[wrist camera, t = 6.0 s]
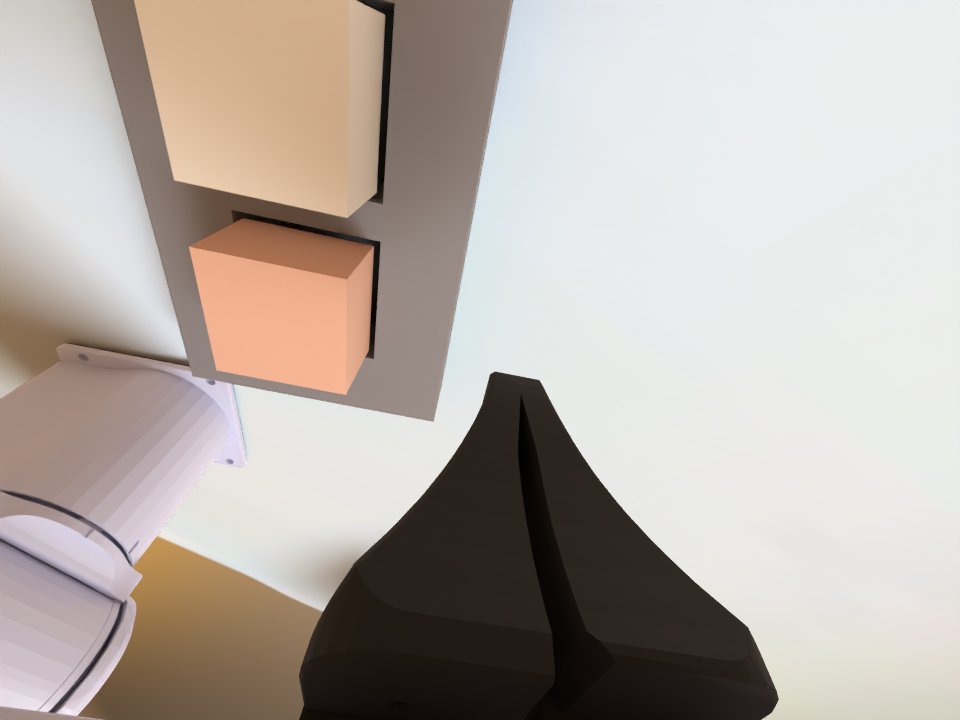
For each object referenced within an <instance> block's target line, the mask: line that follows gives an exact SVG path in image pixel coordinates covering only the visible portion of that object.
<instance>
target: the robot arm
mask: <svg viewBox="0 0 960 720" xmlns="http://www.w3.org/2000/svg"><path fill="white" fill-rule="evenodd" d="M56 353H57V355H58V357H59V359H60V361H59V362H58V363H56V364H55V365H53V366H51V367H50V368H48V369H47V370H45V371H43V372H42V373H40V374H39V375H37V376H35V377H34V378H32V379H31V380H29V381H28V382H26V383H24V384H23V385H21V386H20V387H18V388H16V389H15V390H13V391H12V392H10V393H8V394H7V395H5V396H4V397H2V398H1V399H0V720H103V719H94V718H87V717H79V716H77V715H78V714H79V713H80V712H81V711H82V710H83V709H84V707H85V706H86V705H87V704H88V703H89V702H90V700H91V699H92V698H93V697H94V696H95V694H96V693H97V692H98V690H99V689H100V688H101V687H102V685H103V684H104V683H105V681H106V680H107V679H108V677H109V676H110V674H111V673H112V671H113V670H114V668H115V666H116V665H117V663H118V662H119V660H120V658H121V656H122V655H123V653H124V651H125V649H126V647H127V644H128V642H129V640H130V637H131V634H132V629H133V624H134V620H135V615H136V603H135V601H134V600H133V599H132V597H130V596H129V595H130V593H131V592H132V591H133V589H134V588H135V586H136V585H137V584H138V582H139V581H140V580H141V578H142V575H141V574H140V573H138V572H137V571H136V570H134V569H133V566H134V565H135V564H136V562H137V561H138V560H139V559H140V557H141V556H142V555H143V553H144V552H145V551H146V550H147V548H148V547H149V546H150V544H151V543H152V542H153V540H154V539H155V538H156V537H157V535H158V534H159V533H160V531H161V530H162V529H163V527H164V526H165V525H166V524H167V522H168V521H169V520H170V518H171V517H172V516H173V514H174V513H175V512H176V511H177V509H178V508H179V507H180V505H181V504H182V503H183V502H184V500H185V499H186V498H187V496H188V495H189V494H190V492H191V491H192V490H193V489H194V487H195V486H196V485H197V483H198V482H199V481H200V479H201V478H202V477H203V476H204V474H205V473H206V472H207V470H208V469H209V468H210V466H211V465H212V464H213V463H218V464H223V465H229V466H235V467H244V466H245V464H246V463H247V455H246V450H245V445H244V440H243V435H242V430H241V425H240V420H239V415H238V410H237V405H236V400H235V395H234V390H233V385H232V384H231V383H225V382H220V381H215V380H209V379H204V378H199V377H193V376H192V373H191V369H190V367H189V366H183V365H178V364H173V363H168V362H162V361H157V360H152V359H146V358H141V357H136V356H131V355H125V354H120V353H115V352H109V351H104V350H99V349H94V348H88V347H83V346H78V345H72V344H67V343H63V344H61V345H59V346H58V347H56ZM299 679H300V683H301V690H302V695H303V701H304V707H303V710H302V713H301V716H300V719H299V720H761V719H763V718H764V717H766V716H767V715H769V714H770V713H772V711H773V709H774V708H775V706H776V704H777V702H778V700H779V699H778V695H777V691H776V689H775V686H774V684H773V682H772V679H771V677H770V675H769V672H768V670H767V668H766V665H765V663H764V661H763V658H762V656H761V654H760V652H759V649H758V647H757V645H756V643H755V641H754V638H753V637H752V635H751V633H750V631H749V628H748V627H747V626H746V625H745V624H743V623H742V622H741V621H740V620H739V619H737V618H736V617H735V616H734V615H733V614H732V613H730V612H729V611H728V610H727V609H726V608H725V607H723V606H722V605H721V604H720V603H719V602H717V601H716V600H715V599H714V598H713V597H712V596H710V595H709V594H708V593H707V592H706V591H705V590H703V589H702V588H701V587H700V586H699V585H698V584H696V583H695V582H694V581H693V580H692V579H691V578H690V577H689V576H688V575H687V574H686V573H685V572H684V571H682V570H681V569H680V568H679V567H678V566H677V565H676V564H675V563H674V562H673V561H672V560H671V559H670V558H669V557H668V556H667V555H666V554H665V553H664V552H663V551H662V550H661V549H660V548H659V547H658V546H657V545H656V544H655V543H654V542H653V541H652V540H651V539H650V538H649V537H648V536H647V535H646V534H645V533H644V532H643V531H642V530H641V529H640V527H639V526H638V525H637V524H636V523H635V522H634V521H633V520H632V519H631V518H630V517H629V516H628V514H627V513H626V512H625V511H624V510H623V509H622V507H621V506H620V505H619V504H618V503H617V502H616V500H615V499H614V498H613V497H612V495H611V494H610V493H609V492H608V490H607V489H606V488H605V487H604V485H603V484H602V483H601V482H600V480H599V479H598V478H597V476H596V475H595V474H594V472H593V471H592V469H591V468H590V466H589V465H588V463H587V462H586V460H585V459H584V458H583V456H582V455H581V453H580V451H579V450H578V448H577V447H576V445H575V444H574V442H573V440H572V439H571V437H570V435H569V434H568V432H567V430H566V428H565V427H564V425H563V423H562V422H561V420H560V418H559V416H558V414H557V413H556V411H555V409H554V407H553V405H552V403H551V401H550V399H549V397H548V395H547V393H546V391H545V390H544V388H543V386H542V384H541V382H540V381H539V380H536V379H531V378H525V377H520V376H515V375H510V374H505V373H499V372H494V373H492V374H490V377H489V381H488V384H487V388H486V392H485V396H484V400H483V403H482V406H481V408H480V411H479V413H478V415H477V417H476V419H475V421H474V423H473V425H472V426H471V428H470V430H469V431H468V433H467V435H466V436H465V438H464V440H463V442H462V443H461V445H460V446H459V448H458V449H457V451H456V452H455V454H454V455H453V457H452V458H451V460H450V461H449V462H448V464H447V465H446V466H445V468H444V469H443V471H442V472H441V473H440V474H439V476H438V477H437V478H436V479H435V481H434V482H433V483H432V484H431V486H430V487H429V488H428V489H427V490H426V492H425V493H424V494H423V495H422V496H421V498H420V499H419V500H418V501H417V502H416V503H415V504H414V505H413V506H412V507H411V508H410V509H409V510H408V512H407V513H406V514H405V515H404V516H403V517H402V518H401V519H400V520H399V521H398V522H397V523H396V524H395V525H394V526H393V527H392V528H391V529H390V530H389V531H388V532H387V533H386V534H385V535H384V536H383V537H382V538H381V539H380V540H379V541H378V542H377V543H376V544H374V545H373V546H372V547H371V548H370V549H369V550H368V551H367V552H366V553H365V554H364V555H363V556H362V557H360V558H359V559H358V560H357V561H356V562H355V563H354V565H353V567H352V568H351V569H350V571H349V572H348V574H347V575H346V577H345V578H344V580H343V581H342V583H341V584H340V586H339V587H338V589H337V590H336V592H335V593H334V595H333V596H332V598H331V600H330V601H329V603H328V605H327V606H326V608H325V610H324V611H323V613H322V615H321V618H320V619H319V621H318V623H317V625H316V628H315V630H314V632H313V634H312V637H311V639H310V642H309V645H308V648H307V651H306V654H305V657H304V660H303V663H302V666H301V670H300V674H299Z"/></svg>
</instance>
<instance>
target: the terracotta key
mask: <svg viewBox="0 0 960 720" xmlns="http://www.w3.org/2000/svg"><path fill="white" fill-rule="evenodd" d="M189 249H190V254H191V258H192V263H193V267H194V272H195V276H196V281H197V285H198V290H199V294H200V299H201V303H202V308H203V312H204V317H205V321H206V326H207V330H208V334H209V339H210V343H211V348H212V352H213V357H214V361H215V366H216V370H217V371H222V372H227V373H233V374H238V375H243V376H249V377H254V378H259V379H264V380H270V381H275V382H280V383H285V384H291V385H296V386H301V387H307V388H312V389H317V390H322V391H328V392H333V393H338V394H344V395H346V394H347V392H348V390H349V388H350V386H351V384H352V382H353V380H354V378H355V376H356V374H357V372H358V370H359V368H360V366H361V365H362V363H363V361H364V359H365V357H366V355H367V353H368V351H369V338H370V317H371V297H372V276H373V256H374V246H372V245H367V244H363V243H358V242H353V241H349V240H344V239H339V238H335V237H330V236H325V235H321V234H316V233H311V232H307V231H302V230H297V229H293V228H288V227H283V226H279V225H274V224H269V223H264V222H260V221H255V220H250V219H246V218H242V219H240V220H239V221H237V222H235V223H233V224H231V225H229V226H227V227H225V228H223V229H222V230H220V231H218V232H216V233H214V234H212V235H210V236H208V237H206V238H204V239H203V240H201V241H199V242H197V243H195V244H193V245H191V246H189Z"/></svg>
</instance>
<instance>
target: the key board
mask: <svg viewBox="0 0 960 720" xmlns="http://www.w3.org/2000/svg"><path fill="white" fill-rule="evenodd" d="M91 1H92V5H93V9H94V12H95V16H96V20H97V24H98V27H99V31H100V35H101V38H102V42H103V46H104V50H105V53H106V57H107V61H108V64H109V68H110V72H111V76H112V79H113V83H114V87H115V90H116V94H117V98H118V102H119V105H120V109H121V113H122V116H123V120H124V124H125V128H126V131H127V135H128V139H129V142H130V146H131V150H132V154H133V157H134V161H135V165H136V168H137V172H138V176H139V180H140V183H141V187H142V191H143V194H144V198H145V202H146V206H147V209H148V213H149V217H150V220H151V224H152V228H153V232H154V235H155V239H156V243H157V246H158V250H159V254H160V258H161V261H162V265H163V269H164V272H165V276H166V280H167V284H168V287H169V291H170V295H171V298H172V302H173V306H174V310H175V313H176V317H177V321H178V324H179V328H180V332H181V336H182V339H183V343H184V347H185V350H186V354H187V358H188V362H189V365H190V369H191V373H192V376H193V377H199V378H204V379H209V380H215V381H220V382H225V383H231V384H236V385H241V386H247V387H252V388H257V389H263V390H268V391H273V392H279V393H284V394H289V395H295V396H300V397H305V398H311V399H316V400H321V401H327V402H332V403H337V404H343V405H348V406H353V407H358V408H364V409H369V410H374V411H380V412H385V413H390V414H396V415H401V416H406V417H412V418H417V419H422V420H428V421H434V417H435V412H436V408H437V403H438V399H439V394H440V390H441V385H442V380H443V375H444V369H445V364H446V358H447V353H448V348H449V342H450V337H451V332H452V326H453V321H454V315H455V310H456V305H457V299H458V294H459V289H460V283H461V278H462V272H463V267H464V262H465V256H466V251H467V246H468V240H469V235H470V229H471V224H472V219H473V213H474V208H475V203H476V197H477V192H478V186H479V181H480V176H481V170H482V165H483V160H484V154H485V149H486V143H487V138H488V133H489V127H490V122H491V117H492V111H493V106H494V101H495V95H496V90H497V84H498V79H499V74H500V68H501V63H502V58H503V52H504V47H505V41H506V36H507V31H508V25H509V20H510V15H511V9H512V4H513V0H357V1H359V2H361V3H365V4H369V5H373V6H376V7H380V8H384V9H388V10H392V11H394V24H393V41H392V58H391V75H390V92H389V109H388V127H387V144H386V161H385V178H384V182H380V181H377V193H376V194H375V195H373V196H372V197H371V198H370V199H369V200H368V201H367V202H365V203H364V204H363V205H362V206H361V207H360V208H358V209H357V210H356V211H355V212H354V213H353V214H352V215H350V216H349V217H348V218H345V217H341V216H336V215H332V214H327V213H322V212H318V211H313V210H309V209H304V208H299V207H295V206H290V205H286V204H281V203H276V202H272V201H267V200H263V199H258V198H253V197H249V196H244V195H240V194H235V193H230V192H226V191H221V190H217V189H212V188H207V187H203V186H198V185H193V184H189V183H184V182H180V181H175V180H174V178H173V173H172V169H171V164H170V160H169V155H168V151H167V146H166V142H165V137H164V133H163V128H162V124H161V119H160V115H159V110H158V106H157V101H156V97H155V92H154V88H153V84H152V79H151V75H150V70H149V66H148V61H147V57H146V52H145V48H144V43H143V39H142V34H141V30H140V25H139V21H138V16H137V12H136V7H135V3H134V0H91ZM242 218H246V219H250V220H255V221H260V222H264V223H269V224H273V219H277V220H281V221H286V222H291V223H295V224H300V225H305V226H309V227H314V228H319V229H323V230H328V231H333V232H337V233H342V234H347V235H351V236H356V237H361V238H365V239H370V240H375V241H379V242H381V246H380V263H379V280H378V298H377V315H376V324H375V323H370V338H369V351H368V353H367V355H366V357H365V359H364V361H363V363H362V365H361V366H360V368H359V370H358V372H357V374H356V376H355V378H354V380H353V382H352V384H351V386H350V388H349V390H348V392H347V394H346V395H344V394H338V393H333V392H328V391H322V390H317V389H312V388H307V387H301V386H296V385H291V384H285V383H280V382H275V381H270V380H264V379H259V378H254V377H249V376H243V375H238V374H233V373H227V372H222V371H217V370H216V366H215V361H214V357H213V352H212V348H211V343H210V339H209V334H208V330H207V326H206V321H205V317H204V312H203V308H202V303H201V299H200V294H199V290H198V285H197V281H196V276H195V272H194V267H193V263H192V258H191V254H190V249H189V246H191V245H193V244H195V243H197V242H199V241H201V240H203V239H204V238H206V237H208V236H210V235H212V234H214V233H216V232H218V231H220V230H222V229H223V228H225V227H227V226H229V225H231V224H233V223H235V222H237V221H239V220H240V219H242Z"/></svg>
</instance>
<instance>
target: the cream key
mask: <svg viewBox="0 0 960 720" xmlns="http://www.w3.org/2000/svg"><path fill="white" fill-rule="evenodd" d="M134 3H135V7H136V12H137V16H138V21H139V25H140V30H141V34H142V39H143V43H144V48H145V52H146V57H147V61H148V66H149V70H150V75H151V79H152V84H153V88H154V92H155V97H156V101H157V106H158V110H159V115H160V119H161V124H162V128H163V133H164V137H165V142H166V146H167V151H168V155H169V160H170V164H171V169H172V173H173V178H174V180H175V181H180V182H184V183H189V184H193V185H198V186H203V187H207V188H212V189H217V190H221V191H226V192H230V193H235V194H240V195H244V196H249V197H253V198H258V199H263V200H267V201H272V202H276V203H281V204H286V205H290V206H295V207H299V208H304V209H309V210H313V211H318V212H322V213H327V214H332V215H336V216H341V217H345V218H348V217H349V216H350V215H352V214H353V213H354V212H355V211H356V210H357V209H358V208H360V207H361V206H362V205H363V204H364V203H365V202H367V201H368V200H369V199H370V198H371V197H372V196H373V195H375V194H376V193H377V174H378V154H379V133H380V113H381V92H382V72H383V52H384V31H385V15H384V14H382V13H380V12H378V11H376V10H374V9H372V8H370V7H368V6H366V5H364V4H363V3H361V2H359V1H357V0H134Z"/></svg>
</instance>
